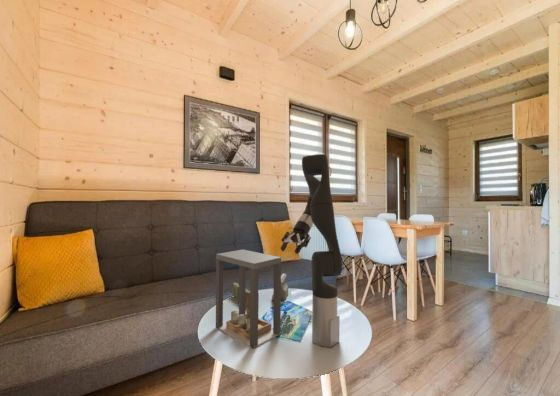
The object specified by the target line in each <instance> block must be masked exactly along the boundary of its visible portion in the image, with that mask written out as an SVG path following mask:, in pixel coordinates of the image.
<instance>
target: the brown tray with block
mask: <svg viewBox="0 0 560 396" xmlns="http://www.w3.org/2000/svg"><path fill="white" fill-rule="evenodd" d="M259 294H260V293H259V292H258V305H259V303H260V301H259V297H260V296H259ZM225 322H226V328H228V329H230V330H232V331H234V332H235V333H237V334H239V335H241V336H243V337H245V338H247V339H248V340H250V290H249V291H248V292H247V304H246V313H245V314H241V315H239V310H232V311H231V312H230V320H228V321H225ZM271 329H272V323H271V322H268V321H267V320H264V319H261V318H259V317H258V336H260V335H262V334H264V333H266V332H268V331H270V330H271Z"/></svg>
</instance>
